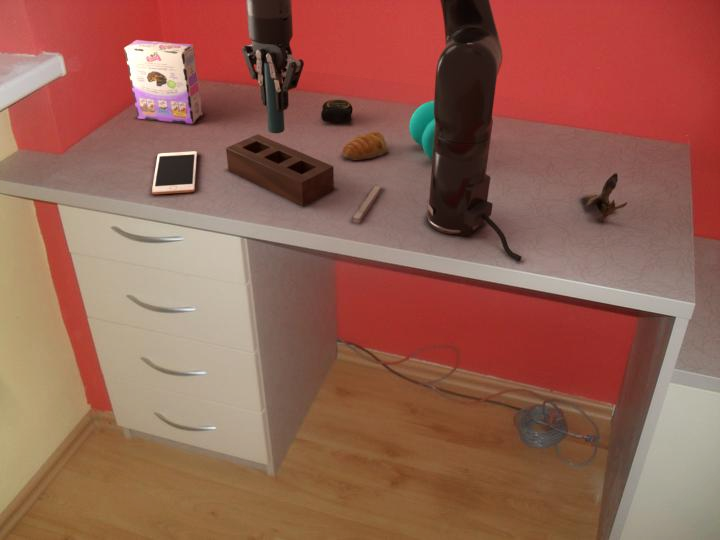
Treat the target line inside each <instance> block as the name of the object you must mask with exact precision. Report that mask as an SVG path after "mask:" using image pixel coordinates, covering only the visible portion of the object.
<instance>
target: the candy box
mask: <svg viewBox="0 0 720 540" xmlns="http://www.w3.org/2000/svg"><path fill="white" fill-rule="evenodd" d="M123 51H124V54H125V59H126V64H127V70H128V76H129V80H130V84H131V91H132V95H133V101H134V105H135V110H136V116H137V119H139V120H150V121H158V122H159V121H160V122H170V123H179V124H180V123H181V124H187V125H190V124H191V125H194V124H195V123H196V122H197V121H198V120H199V119H200V118H202V116H203V108H202V107H203V105H202V100H201V92H200V84H199V76H198V70H197V62H196V55H195V48H194V44H191V43H177V42H165V41H154V40H153V41H151V40H142V39H141V40H140V39H136V40H134V41H132V42H131V43H130V44H127V46H125V47H124V48H123Z"/></svg>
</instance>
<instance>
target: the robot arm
mask: <svg viewBox="0 0 720 540" xmlns="http://www.w3.org/2000/svg"><path fill="white" fill-rule="evenodd" d="M439 2H440V5H441V12H442V19H443V25H444V39H445V46H444V48H443V50H442V51H441V53H440V55H439V57H438V60H437V65H436V71H435V80H434V81H435V83H434V96H433V97H434V100H433V101H434V119H435V133H434V146H433V158H432V159H431V171H430V184H429V185H430V187H429V196H428V198H429V199H428V200H427V201H426V208H427V209H428V210H427V214H426V215H427V217H426V221H427V223H428V225H429V226H430V227H431V228H432V229H434V230H436V232H437V231H438V232H439V233H443V234H447V235H458V236H462V237H464V238H465V237H468V236H469V235H471V234H472V233H473V232H474V231H476V230H477V229H479V228H480V227H481V226H483V225H484V224H485V222H486V224H488V225H489V226H490V227H491V228H492V229H493V231H494V232H495V233H496V234H497V236H498V238H499V240H500V242H501V245H502V248H503V250H504V252H505V253H506V254H507V256H509V257H510V258H512V259H514V260H516V261H519V262H520V261H521V260H522V257H523V256H522V255H519V254H517V253H515V252H513V251H512V250H511V248H510V247H509V244H508V241H507V239H506V236H505V234H504V232H503V231H502V230H501V228H500V227H499V226H498V225H497V224H496V223H495V222H494V221H493V220H492V219H491V218H490V217H491V216H492V211H493V205H494V203H493V202H490V201H488V198H489V190H490V185H491V176H490V175H488V174H487V170H488V161H489V154H490V148H491V147H490V146H491V139H492V131H493V123H494V120H493V119H494V118H493V109H494V101H495V95H496V86H497V79H498V75H499V72H500V70H501V67H502V63H503V47H502V44H501V40H500V36H499V32H498V29H497V26H496V25H497V24H496V21H495V17H494V13H493V10H492V5H491V1H490V0H439ZM245 6H246V17H247V29H248V38H249V39H250V40H251V41H252V42H251V43H250V44H246V45H244V46H241V52H242V54H243V57H244V60H245V63H246V66H247V69H248V72H249V75H250V77H251V80H253V81H255V80H256V81H257V83H258V85H259V86H260V99H261V102H262V105H263V106H266V107H267V102H266V88H265V73H264V62H266V63H269V68H270V73H271V78H272V79H274V83H275V88H276V91H275V97H276V110H278V111H283V110H284V111H285V110H287V109H288V107H289V91H290V90H293V89H296V88H297V87H298V85H299V81H300V78H301V75H302V72H303V68H304V65H305V62H304V60H303V59H302V58H300V59H297V58H296V57H295V56H293V52H292V48H291V45H290V43H291V41H292V39H293V36H294V29H293V9H292V8H293V7H292V0H245ZM255 66H256V69H255ZM280 70H281V72H279V73H277V71H280ZM281 78H282V84H281Z"/></svg>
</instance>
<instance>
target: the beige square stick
mask: <svg viewBox="0 0 720 540" xmlns="http://www.w3.org/2000/svg"><path fill="white" fill-rule="evenodd" d="M381 191H382V186H381V185H377V184H376V185H374V187H373V188H372V190H371V191H370V193H369V194H368V195H367V196H366V198H365V200H364V201H363V203H362V204H361V206H359V208H358V210H357V211H356V213H355V214H354V216H353V218H352V223H355V224H360V223H361V221H362V220H363V218H364V217H365V215H366V214H367V213H368V211H369V210H370V208H371V206H372V204H374V201H375V200H376V199H377V197H378V196H379V195H380V193H381Z"/></svg>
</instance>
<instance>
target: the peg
mask: <svg viewBox="0 0 720 540" xmlns="http://www.w3.org/2000/svg"><path fill="white" fill-rule="evenodd" d="M281 71H282V70H280V71H277V73H279V72H281ZM264 73H265V88H266V102H267V106H266V115H267V116H266V117H267V129H268V130H267V131H268V133H271V134H281V133H284V132H285V130H286V129H285V128H286V127H285V114H284V113H285V112H284V111H285V110H283V111H278V110H276V97H275V91H276V88H275V83H274V79H272V78H271V73H270V68H269V63H266V62H264ZM282 83H283V80H282V78H281V84H282Z"/></svg>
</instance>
